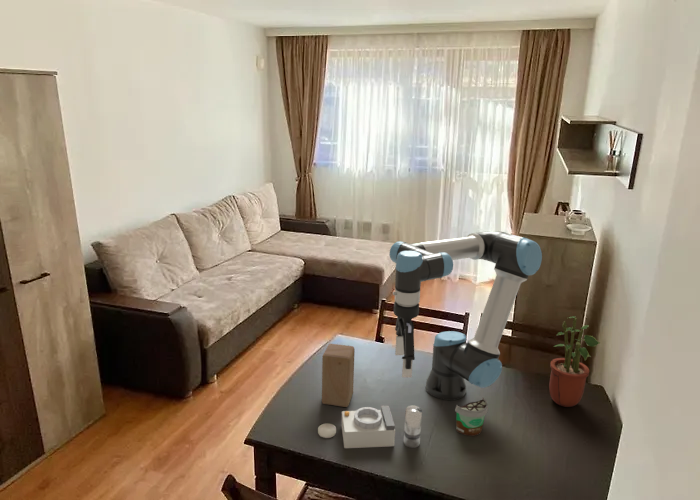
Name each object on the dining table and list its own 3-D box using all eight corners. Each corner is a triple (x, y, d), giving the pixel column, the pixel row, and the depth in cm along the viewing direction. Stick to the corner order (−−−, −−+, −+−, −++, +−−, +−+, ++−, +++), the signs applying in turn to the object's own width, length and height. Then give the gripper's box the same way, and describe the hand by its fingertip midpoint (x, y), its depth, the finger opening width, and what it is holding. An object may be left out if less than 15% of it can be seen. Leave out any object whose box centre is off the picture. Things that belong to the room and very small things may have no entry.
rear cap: (335, 426, 168) (335, 423, 168) (336, 438, 163) (336, 434, 162) (317, 427, 168) (317, 423, 167) (318, 439, 162) (318, 435, 162)
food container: (464, 442, 162) (467, 415, 159) (452, 431, 167) (455, 405, 164) (493, 432, 168) (496, 406, 165) (481, 421, 173) (484, 396, 170)
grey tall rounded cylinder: (417, 436, 164) (420, 405, 161) (421, 447, 159) (424, 414, 156) (402, 437, 164) (404, 405, 160) (405, 448, 159) (407, 415, 155)
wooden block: (348, 408, 178) (349, 358, 173) (321, 404, 180) (321, 354, 174) (353, 393, 188) (355, 345, 182) (327, 389, 189) (328, 342, 184)
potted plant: (572, 417, 177) (588, 327, 167) (532, 397, 188) (545, 312, 178) (594, 399, 188) (610, 314, 178) (554, 382, 199) (568, 301, 189)
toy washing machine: (388, 424, 170) (389, 404, 168) (394, 446, 159) (395, 424, 157) (341, 426, 168) (342, 406, 166) (344, 448, 158) (344, 426, 155)
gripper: (388, 287, 161) (385, 346, 167) (401, 319, 137) (397, 387, 143) (411, 287, 162) (407, 346, 168) (427, 319, 138) (423, 387, 144)
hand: (403, 365), depth 156 cm, fingers open, 13 cm apart
